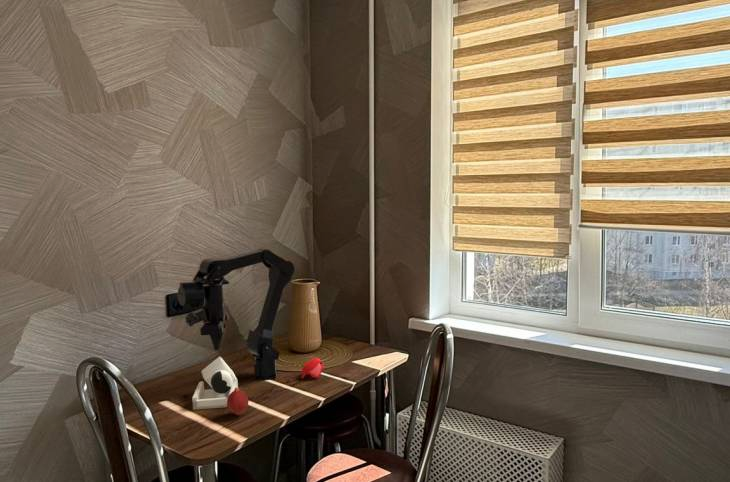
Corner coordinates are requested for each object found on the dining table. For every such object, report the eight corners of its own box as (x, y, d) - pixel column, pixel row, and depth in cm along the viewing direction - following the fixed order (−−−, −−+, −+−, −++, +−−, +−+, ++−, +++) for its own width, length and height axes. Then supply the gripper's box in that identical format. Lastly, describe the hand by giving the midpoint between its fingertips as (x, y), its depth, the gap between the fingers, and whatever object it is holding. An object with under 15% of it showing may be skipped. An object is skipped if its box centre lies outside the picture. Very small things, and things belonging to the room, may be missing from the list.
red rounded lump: (229, 411, 162) (227, 384, 161) (250, 410, 162) (248, 382, 161) (226, 420, 156) (224, 391, 155) (247, 418, 156) (246, 390, 156)
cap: (322, 362, 192) (306, 354, 191) (327, 361, 187) (311, 353, 185) (312, 384, 189) (296, 377, 188) (317, 384, 184) (301, 376, 182)
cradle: (238, 389, 178) (237, 378, 178) (233, 406, 165) (233, 394, 165) (200, 392, 177) (199, 381, 176) (193, 409, 164) (192, 398, 163)
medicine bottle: (215, 387, 179) (220, 401, 168) (200, 370, 177) (205, 383, 166) (233, 372, 181) (240, 384, 169) (219, 355, 178) (225, 367, 167)
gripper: (191, 295, 183) (194, 343, 185) (180, 308, 165) (184, 361, 167) (227, 293, 185) (230, 340, 186) (220, 306, 166) (223, 358, 168)
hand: (216, 349), depth 177 cm, fingers closed
